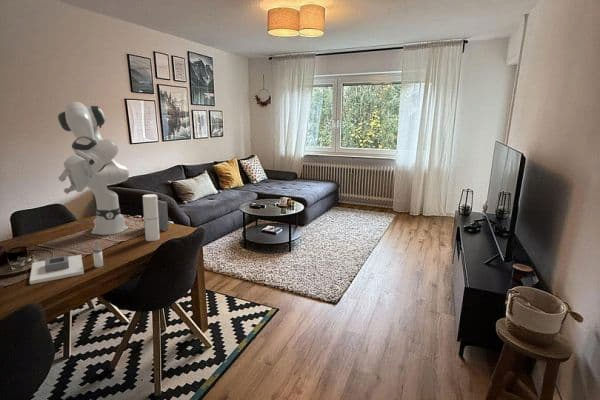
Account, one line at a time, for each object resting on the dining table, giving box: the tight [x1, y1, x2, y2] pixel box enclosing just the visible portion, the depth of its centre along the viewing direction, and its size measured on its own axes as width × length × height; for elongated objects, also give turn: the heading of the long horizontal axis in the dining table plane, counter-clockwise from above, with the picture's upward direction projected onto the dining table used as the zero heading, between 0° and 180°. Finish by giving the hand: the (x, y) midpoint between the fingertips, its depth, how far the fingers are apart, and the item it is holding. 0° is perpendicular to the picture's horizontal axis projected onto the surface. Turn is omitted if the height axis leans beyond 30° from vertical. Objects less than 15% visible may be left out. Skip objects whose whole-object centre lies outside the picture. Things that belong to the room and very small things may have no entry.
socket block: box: [29, 254, 85, 285], centre depth 141 cm, size 20×18×4 cm
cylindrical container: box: [142, 193, 160, 242], centre depth 179 cm, size 7×7×25 cm
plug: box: [92, 247, 104, 268], centre depth 147 cm, size 4×4×8 cm
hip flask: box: [142, 196, 169, 232], centre depth 197 cm, size 16×4×20 cm, turn 77°
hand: (62, 186), depth 137 cm, fingers open, 8 cm apart
